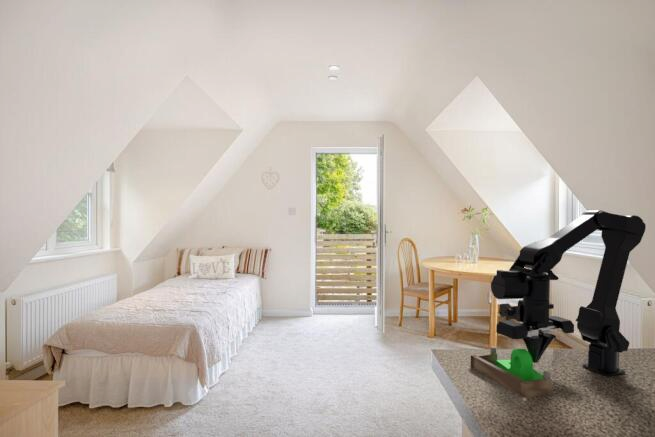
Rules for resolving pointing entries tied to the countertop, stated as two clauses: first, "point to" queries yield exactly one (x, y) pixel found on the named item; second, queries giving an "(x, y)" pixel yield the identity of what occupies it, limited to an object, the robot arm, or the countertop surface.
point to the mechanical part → (520, 365)
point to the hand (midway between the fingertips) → (534, 362)
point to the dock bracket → (510, 376)
